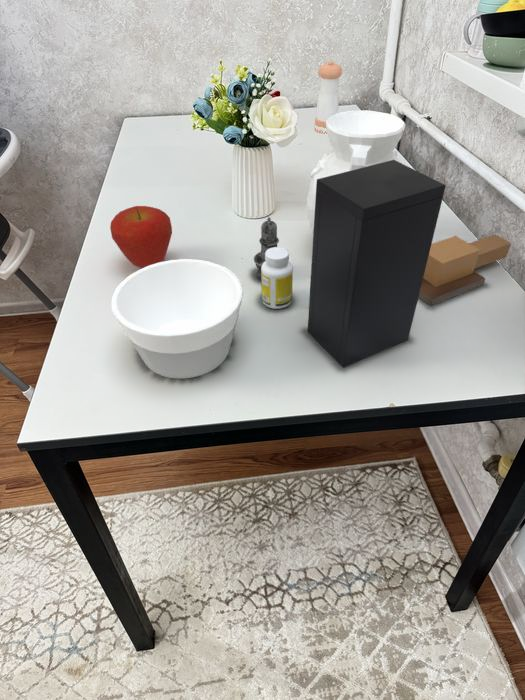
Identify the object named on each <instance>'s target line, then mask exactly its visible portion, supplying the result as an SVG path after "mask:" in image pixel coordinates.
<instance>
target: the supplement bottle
mask: <svg viewBox="0 0 525 700" xmlns="http://www.w3.org/2000/svg"><path fill="white" fill-rule="evenodd" d="M293 274H294V267H293V264H292V262H290V252H289V250H288V249H287V248H284V247H281V246H277V247H273V248H270V249H268V250H267V251H266V252H265V262H264V263H263V264H262V267H261V279H262V281H261V302H262V303H263V305H264V306H265V307H267V308H270V309H274V310H278V309H279V310H280V309H284V308H288V306H290V304H291V303H292V300H293V276H294V275H293Z"/></svg>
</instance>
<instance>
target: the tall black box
mask: <svg viewBox="0 0 525 700" xmlns="http://www.w3.org/2000/svg"><path fill="white" fill-rule="evenodd" d="M446 187H447V185H446V184H444V183H442V182H440V181H438V180H436V179H434V178H432V177H430V176H428V175H426V174H424V173H422V172H420V171H418V170H416V169H413V167H412V168H411V167H410V166H408V165H406V164H403V162H402V163H400V162H398V161H396V160H391V161H387V162H383V163H379V164H375V165H371V166H367V167H363V168H359V169H355V170H352V171H348V172H344V173H340V174H336V175H332V176H328V177H324V178H320V179H317V184H316V199H315V216H314V232H313V233H312V249H311V250H312V251H311V267H310V282H309V283H310V285H309V299H308V301H309V302H308V316H307V333H308V334H309V335H310V336H311V337H312V338H313V339H314V340H315V341H316V342H317V343H318V344H319V345H320V346H321V347H322V348H323V349H324V350H325V351H326V352H327V354H329V355H330V356H331V357H332V359H334V360H335V361H336V362H337V363H338V365H339V366H341V368H346V367H348V366H351V365H353V364H355V363H357V362H360V361H362V360H364V359H367V358H369V357H372V356H374V355H377V354H379V353H381V352H383V351H386V350H389V349H390V348H393V347H395V346H397V345H400V344H402V343H404V342H407V341H408V340H409V338H410V334H411V329H412V325H413V322H414V317H415V314H416V309H417V305H418V302H419V301H418V300H419V293H420V289H421V285H422V281H423V277H424V273H425V269H426V264H427V260H428V256H429V252H430V248H431V244H432V243H433V240H434V236H435V232H436V227H437V223H438V219H439V216H440V211H441V207H442V203H443V200H444V195H445V191H446Z"/></svg>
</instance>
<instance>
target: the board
mask: <svg viewBox="0 0 525 700" xmlns="http://www.w3.org/2000/svg"><path fill="white" fill-rule="evenodd" d="M485 281H486V277H484V276H483V275H481V274H479V273H478V272H476V271H475V270H474V271H473V274H470V275H467V276H465V277H462V278H459V279H457V280H454V281H452V282H449V283H446V284H444V285H441V286H438V287H435V286H434V285H432V284H431V283H429V282H428V281H426V280H425V279H424V278H423V281H422V285H421V289H420V293H419V297H418V299H420V300H421V301H423V302H424V303H425V304H426V305H428V306H430V307H432V306H434V305H437V304H439V303H442V302H445V301H447V300H449V299H451V298H454V297H457V296H459V295H461V294H464V293H466V292H469V291H471V290H474V289H476V288H479V287H481V286H483V285H484V284H485Z"/></svg>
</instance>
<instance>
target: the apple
mask: <svg viewBox="0 0 525 700" xmlns="http://www.w3.org/2000/svg"><path fill="white" fill-rule="evenodd" d="M109 229H110V232H111V233H110V235H111V239H112V240H113V241H114V243H115V244H116V246H117V248H118V249H119V251H121V253H122V254H123V256H124V257H125V258H126V259H127V260H128V261H129V262H130V264H131V265H133V266H134V267H138V268H139V269H142V268H144V267H147V266H149V265H152V264H156V263H159V262H164V261H165V259H166V255H167V252H168V250H169V246H170V243H171V238H172V235H173V226H172V221H171V217H170V216H169V215H168V214H167V213H166V212H164V211H163V210H162V209H160V208H157V207H153V206H147V205H135V206H132V207H127V208H125V209H123V210H120V211H119V212H118V213H117V214H115V216H114V217H113V218H112V220H111V221H110V227H109Z"/></svg>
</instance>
